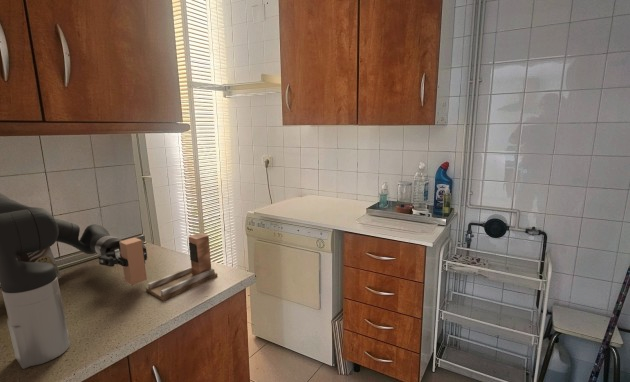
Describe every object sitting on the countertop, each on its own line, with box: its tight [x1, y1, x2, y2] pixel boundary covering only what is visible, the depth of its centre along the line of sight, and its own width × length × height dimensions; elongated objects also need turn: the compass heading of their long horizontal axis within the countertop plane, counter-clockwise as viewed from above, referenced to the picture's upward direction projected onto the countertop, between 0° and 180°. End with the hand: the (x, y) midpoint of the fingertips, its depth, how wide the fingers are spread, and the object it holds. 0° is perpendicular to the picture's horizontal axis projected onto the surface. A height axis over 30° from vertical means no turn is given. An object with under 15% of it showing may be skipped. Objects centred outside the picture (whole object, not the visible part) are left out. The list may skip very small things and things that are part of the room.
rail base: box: [145, 232, 218, 302], centre depth 105 cm, size 19×10×14 cm, turn 143°
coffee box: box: [16, 246, 62, 280], centre depth 101 cm, size 9×6×16 cm
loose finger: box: [119, 237, 148, 286], centre depth 102 cm, size 5×4×13 cm
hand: (136, 260), depth 101 cm, fingers closed on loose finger, 5 cm apart
